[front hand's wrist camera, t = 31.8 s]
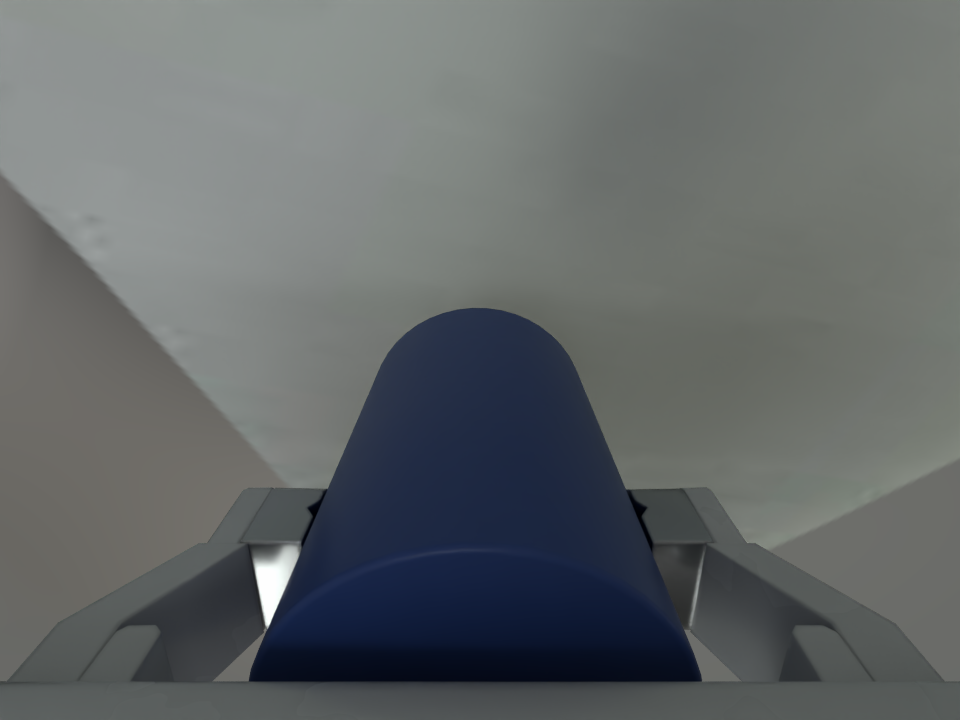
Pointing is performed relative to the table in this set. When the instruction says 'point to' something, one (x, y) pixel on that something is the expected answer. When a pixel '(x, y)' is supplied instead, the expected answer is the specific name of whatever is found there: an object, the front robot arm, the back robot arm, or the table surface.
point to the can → (476, 530)
